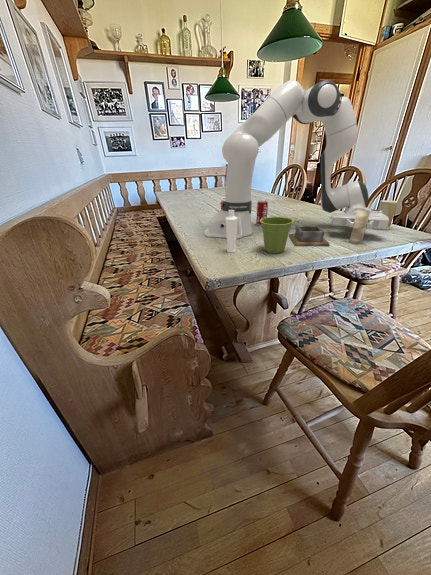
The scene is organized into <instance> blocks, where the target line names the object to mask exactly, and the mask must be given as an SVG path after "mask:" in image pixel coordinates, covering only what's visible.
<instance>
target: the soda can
mask: <svg viewBox="0 0 431 575" xmlns="http://www.w3.org/2000/svg"><path fill="white" fill-rule="evenodd" d="M268 209H269V202H268V199H258V201H257V203H256V221H255V222H256V223H255V224H256V225H257V226H260V227H262V224H261V222H260V220H261V219H263V218H267V217H268Z"/></svg>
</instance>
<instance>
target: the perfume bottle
mask: <svg viewBox="0 0 431 575" xmlns="http://www.w3.org/2000/svg"><path fill="white" fill-rule="evenodd" d="M234 211H235V210H229V216H228V217H226V218H225V221H226V234H227V238H226V252H227V253H236V251H237V247H236V245H237V239H236V236H237V224H238V218H237V217H235V216H234Z"/></svg>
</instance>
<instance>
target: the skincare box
mask: <svg viewBox="0 0 431 575" xmlns="http://www.w3.org/2000/svg"><path fill="white" fill-rule="evenodd" d="M398 205H399V202H398V201H397V200H386V199H385V200H384V199H383V200H382V199H380V201H379V205H378V208H377V210H379V211H382V212H383V213H382V214H385V215H386V216H387V217H388V218H389V223H388V226H387V228H373V229H374V230H381V231H382V230H384V231H389V230H390V229H391V228H390V227H391V224H392V223H393V219H394V216H395V213H396V212H397V211H396V210H397V207H398Z"/></svg>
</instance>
